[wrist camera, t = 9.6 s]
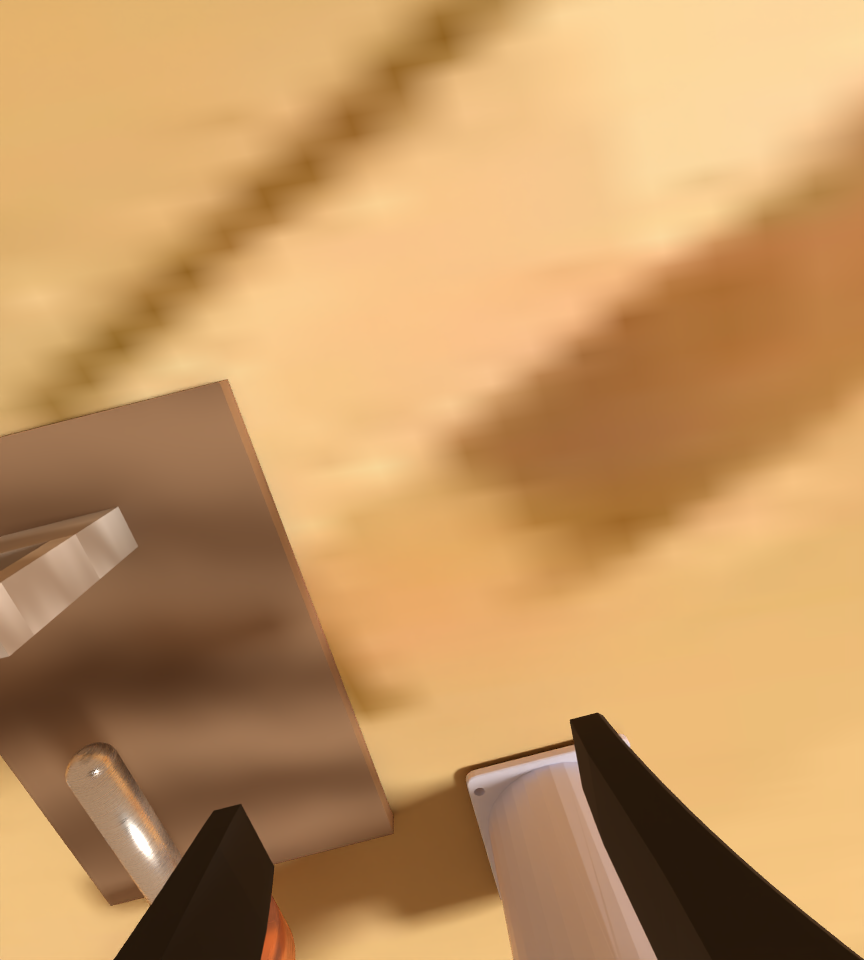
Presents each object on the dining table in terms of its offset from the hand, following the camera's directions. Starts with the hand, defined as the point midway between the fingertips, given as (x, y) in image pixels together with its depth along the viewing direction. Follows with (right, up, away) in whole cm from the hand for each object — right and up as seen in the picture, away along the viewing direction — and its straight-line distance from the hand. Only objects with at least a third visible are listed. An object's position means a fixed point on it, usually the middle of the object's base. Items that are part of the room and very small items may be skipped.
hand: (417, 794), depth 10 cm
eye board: (-11, -2, +9) cm, 15 cm away
